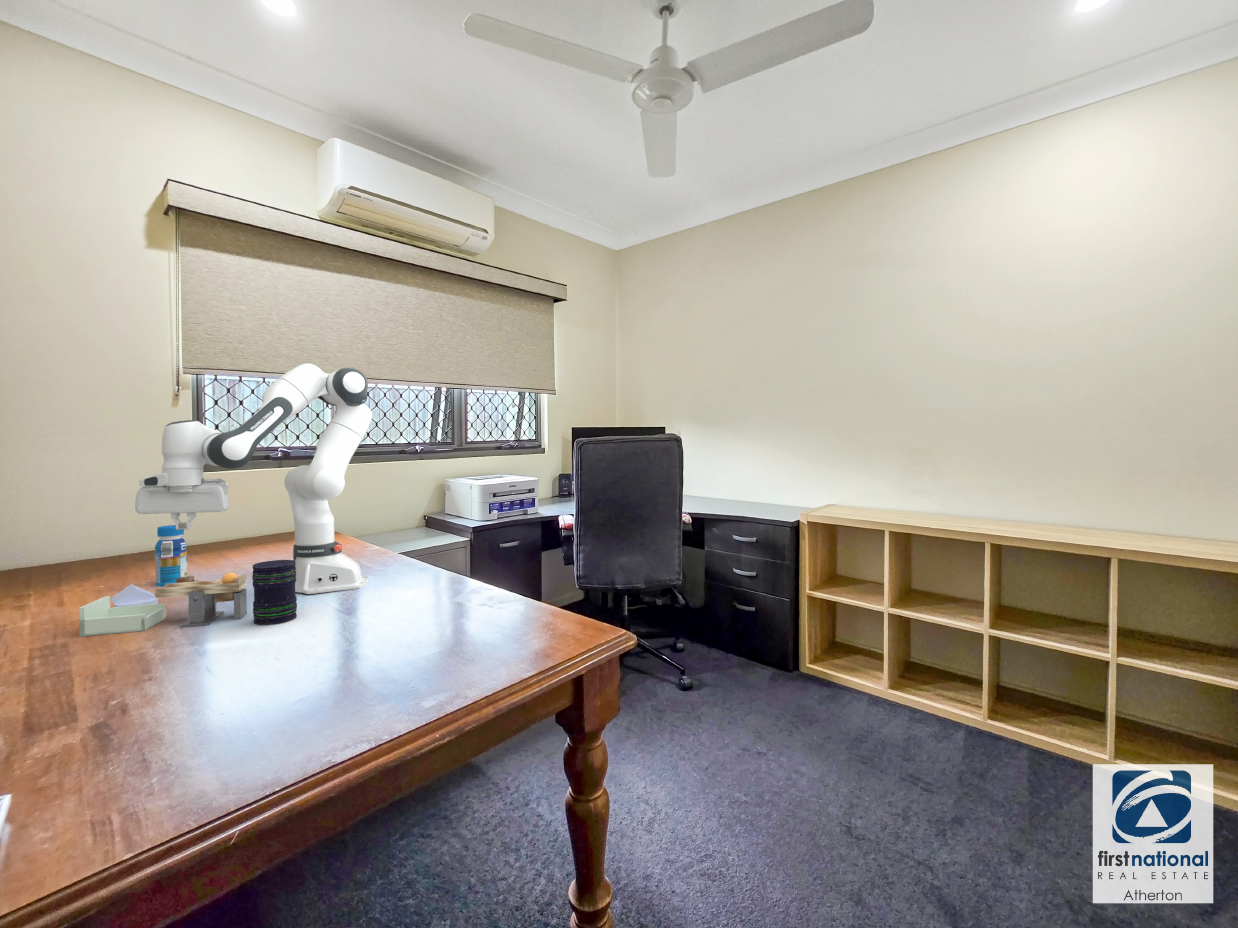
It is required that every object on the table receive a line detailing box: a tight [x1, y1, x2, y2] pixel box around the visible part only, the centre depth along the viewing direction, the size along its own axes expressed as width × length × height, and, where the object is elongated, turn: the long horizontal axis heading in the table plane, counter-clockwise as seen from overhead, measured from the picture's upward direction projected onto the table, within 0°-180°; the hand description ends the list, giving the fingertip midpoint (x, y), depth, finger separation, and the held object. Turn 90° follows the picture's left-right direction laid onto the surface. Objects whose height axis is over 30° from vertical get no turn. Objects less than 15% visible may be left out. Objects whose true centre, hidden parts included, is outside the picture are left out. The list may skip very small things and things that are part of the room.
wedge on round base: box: [110, 583, 159, 607], centre depth 150 cm, size 9×7×13 cm
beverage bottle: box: [154, 524, 189, 587], centre depth 178 cm, size 8×8×20 cm
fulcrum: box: [179, 587, 248, 629], centre depth 143 cm, size 12×11×9 cm
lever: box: [154, 573, 247, 603], centre depth 146 cm, size 18×15×6 cm
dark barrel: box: [251, 559, 298, 626], centre depth 142 cm, size 10×10×15 cm
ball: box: [221, 572, 239, 584], centre depth 144 cm, size 4×4×4 cm
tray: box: [78, 595, 167, 638], centre depth 137 cm, size 13×11×7 cm
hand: (183, 529), depth 148 cm, fingers closed
